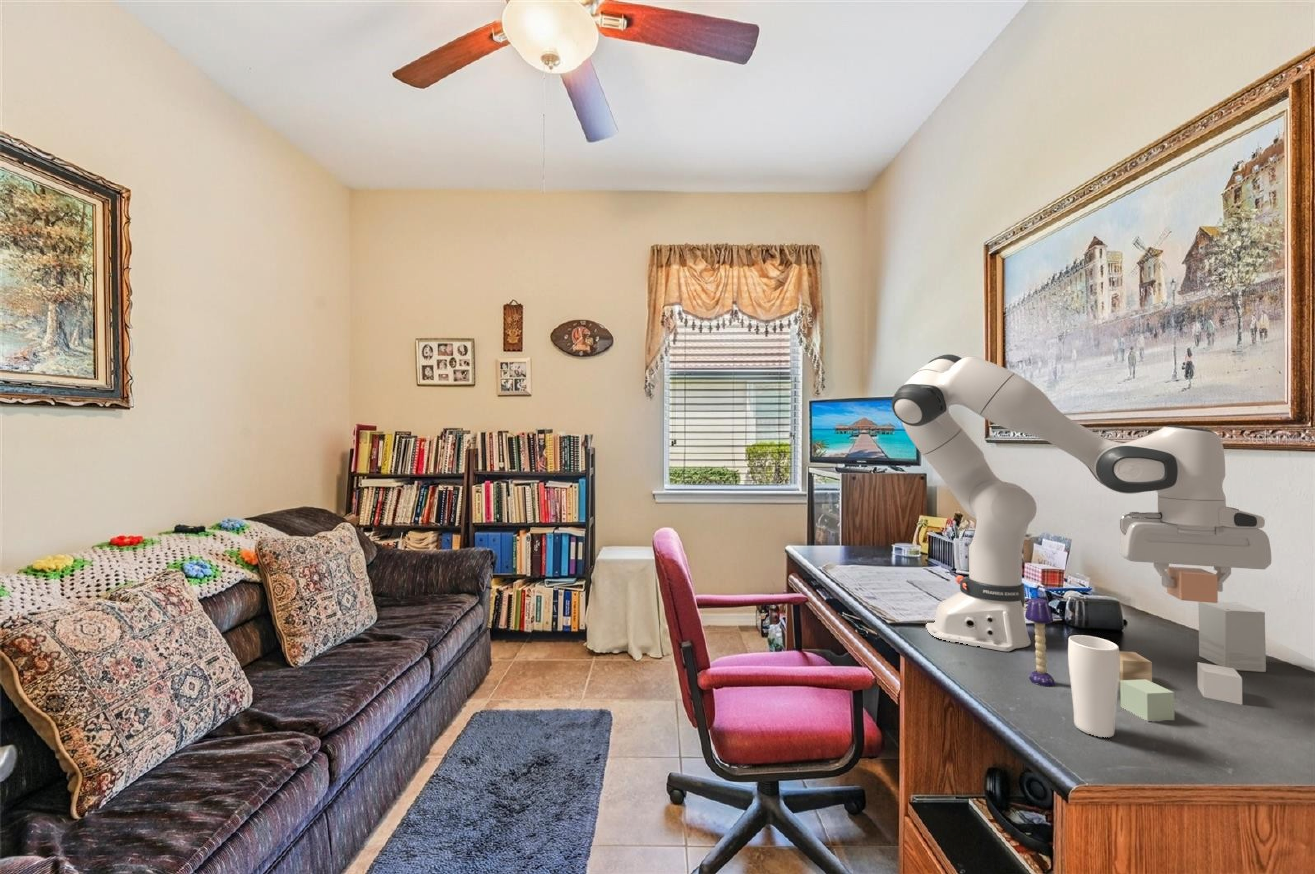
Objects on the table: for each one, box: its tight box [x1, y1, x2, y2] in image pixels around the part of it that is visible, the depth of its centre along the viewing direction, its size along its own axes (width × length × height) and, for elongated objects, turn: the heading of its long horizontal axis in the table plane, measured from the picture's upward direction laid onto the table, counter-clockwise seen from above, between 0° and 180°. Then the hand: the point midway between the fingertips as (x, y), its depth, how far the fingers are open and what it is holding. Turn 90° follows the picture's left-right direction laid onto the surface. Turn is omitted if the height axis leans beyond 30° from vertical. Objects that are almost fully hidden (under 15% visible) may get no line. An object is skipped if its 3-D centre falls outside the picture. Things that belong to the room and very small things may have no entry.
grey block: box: [1196, 662, 1243, 706], centre depth 101 cm, size 5×5×5 cm
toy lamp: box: [1024, 597, 1056, 687], centre depth 107 cm, size 5×5×17 cm
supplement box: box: [1197, 601, 1267, 673], centre depth 115 cm, size 7×7×13 cm
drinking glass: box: [1067, 634, 1120, 739], centre depth 90 cm, size 7×7×15 cm
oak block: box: [1119, 650, 1153, 683], centre depth 108 cm, size 5×5×5 cm
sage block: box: [1119, 679, 1175, 722], centre depth 95 cm, size 5×5×5 cm
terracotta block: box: [1165, 566, 1219, 603], centre depth 97 cm, size 5×5×5 cm
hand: (1191, 589), depth 97 cm, fingers closed on terracotta block, 5 cm apart
